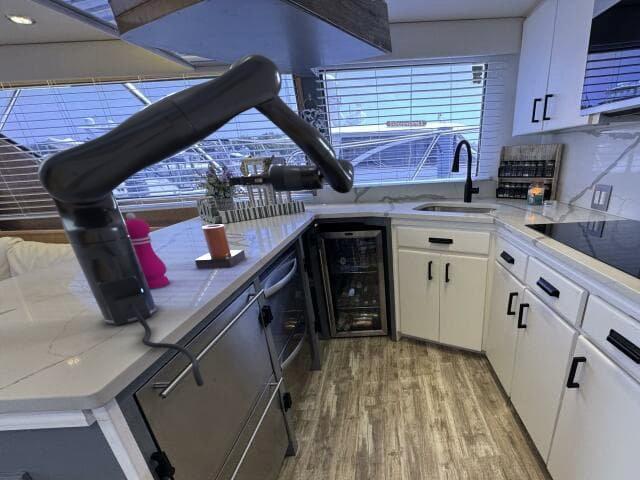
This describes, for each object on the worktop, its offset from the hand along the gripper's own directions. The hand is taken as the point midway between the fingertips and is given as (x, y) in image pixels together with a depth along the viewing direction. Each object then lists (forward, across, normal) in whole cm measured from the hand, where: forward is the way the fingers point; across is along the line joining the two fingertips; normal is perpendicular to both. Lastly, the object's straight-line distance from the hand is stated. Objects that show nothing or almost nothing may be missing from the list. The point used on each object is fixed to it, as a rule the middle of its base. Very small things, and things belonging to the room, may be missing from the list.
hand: (236, 180), depth 99 cm
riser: (+11, 0, +26) cm, 28 cm away
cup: (+11, 0, +23) cm, 26 cm away
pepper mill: (+20, +20, +26) cm, 39 cm away
